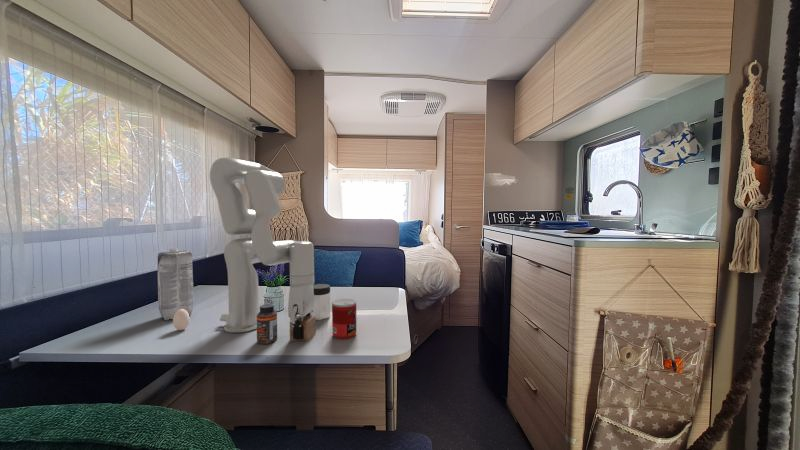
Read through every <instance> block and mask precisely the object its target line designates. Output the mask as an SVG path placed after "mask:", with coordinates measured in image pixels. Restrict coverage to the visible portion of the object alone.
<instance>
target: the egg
mask: <svg viewBox="0 0 800 450" xmlns="http://www.w3.org/2000/svg"><path fill="white" fill-rule="evenodd" d="M190 320H191V318H190V316H189V314H188V312H187V311H186V310H184V309H180V310H178V311H177V312H176V313H175V315H174V318H173V319H172V323H173V326H174V328H175V329H176V330H178V331H184V330H186V328H187V327H188V326H189V324H190Z"/></svg>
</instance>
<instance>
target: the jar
mask: <svg viewBox="0 0 800 450" xmlns="http://www.w3.org/2000/svg"><path fill="white" fill-rule="evenodd" d="M313 289H314V309H313V312H312V316H315V321H321V320H325V319H329V318H331V285H330V284H328V283H318V284H316V283H315V284H313Z"/></svg>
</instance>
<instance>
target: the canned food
mask: <svg viewBox="0 0 800 450" xmlns="http://www.w3.org/2000/svg"><path fill="white" fill-rule="evenodd" d="M331 318H332V319H331V321H332V322H331V324H332V336H333V337H334V338H336V339H337V340H347V339H351V338H353V337H355V336H356V334H357V301H356V300H354V299H351V298H340V299H335V300H334V301H332V303H331Z"/></svg>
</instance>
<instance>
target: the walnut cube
mask: <svg viewBox="0 0 800 450" xmlns="http://www.w3.org/2000/svg"><path fill="white" fill-rule="evenodd" d="M297 320H298V321H299V322H300V319H297ZM302 326H304V338H303V339H294V338H293V327H292V322H291V321H290V320H289V342H290V341H295V342H309V341H310V340H311V339H312V338H313V337H314V336H315V335H317V334H316V320H315V316H304V317H303V324H302Z"/></svg>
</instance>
